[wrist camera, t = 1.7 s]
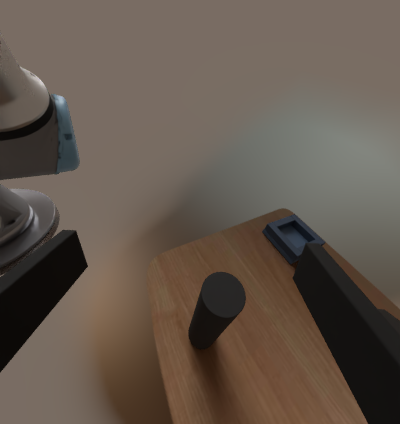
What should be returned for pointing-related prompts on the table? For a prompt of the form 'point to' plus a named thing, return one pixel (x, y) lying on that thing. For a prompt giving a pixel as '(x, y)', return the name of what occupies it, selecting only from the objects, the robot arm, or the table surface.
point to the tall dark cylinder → (215, 308)
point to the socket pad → (291, 237)
